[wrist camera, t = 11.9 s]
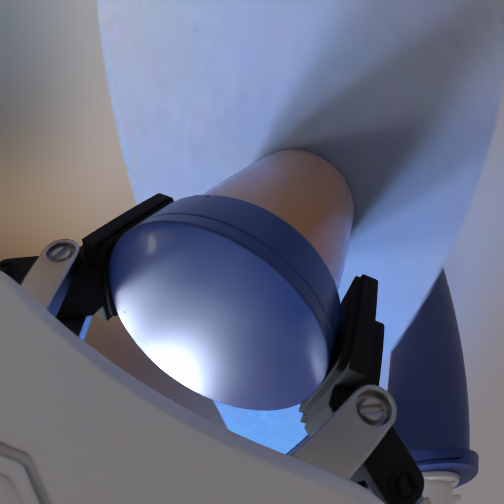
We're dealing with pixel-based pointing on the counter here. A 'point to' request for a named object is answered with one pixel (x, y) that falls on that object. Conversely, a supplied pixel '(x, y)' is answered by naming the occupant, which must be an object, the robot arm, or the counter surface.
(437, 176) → the counter surface
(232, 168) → the counter surface
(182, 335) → the jar lid
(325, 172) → the jam jar
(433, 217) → the counter surface
